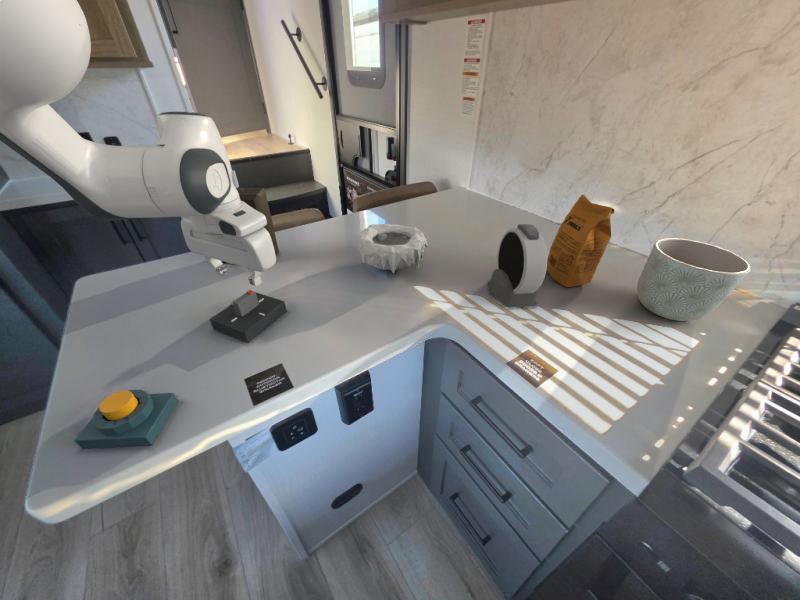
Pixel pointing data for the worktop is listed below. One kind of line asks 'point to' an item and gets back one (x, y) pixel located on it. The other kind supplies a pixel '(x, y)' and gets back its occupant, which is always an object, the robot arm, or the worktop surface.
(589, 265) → the coffee package
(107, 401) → the trigger button
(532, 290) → the alarm clock
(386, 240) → the bowl
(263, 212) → the bottle
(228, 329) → the dark grey flat block
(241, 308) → the grey rectangular block
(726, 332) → the worktop surface
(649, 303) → the planter
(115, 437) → the teal button mount
